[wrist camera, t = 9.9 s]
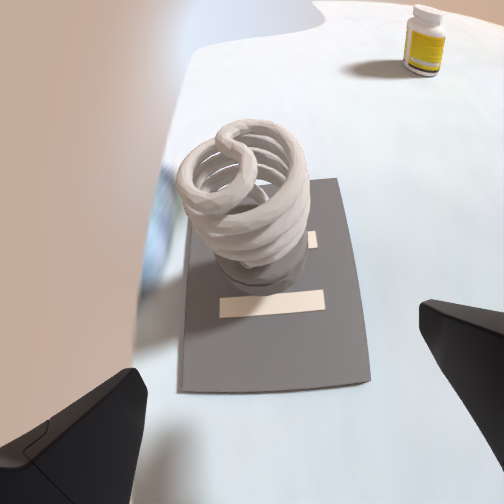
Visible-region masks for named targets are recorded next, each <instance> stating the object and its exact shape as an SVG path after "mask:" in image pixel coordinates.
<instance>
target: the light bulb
mask: <svg viewBox="0 0 504 504" xmlns="http://www.w3.org/2000/svg"><path fill="white" fill-rule="evenodd" d="M249 147H254V148H249ZM257 148H259V149H257ZM217 152H221V153H220V154H218V155H215V156H213V157H211V158H209V159H208V160H206V161H205V162H203V161H204V160H205V159H207V158H208V157H210V156H211V155H213V154H215V153H217ZM202 162H203V163H202ZM201 163H202V164H201ZM237 163H239V165H236V166H232V167H229V168H226V169H223V170H221V171H219V172H217V173H215V172H216V171H218V170H219V169H221V168H224V167H226V166H229V165H232V164H237ZM257 163H258V164H257ZM259 164H264V165H259ZM265 165H266V166H265ZM306 166H307V164H306V160H305V156H304V152H303V150H302V148H301V146H300V144H299V142H298V141H297V140H296V138H295V137H294V136H293V135H292V134H291V133H290V132H289V131H287V130H286V129H285V128H284V127H282V126H281V125H278V124H276V123H273V122H270V121H264V120H255V119H245V120H237V121H235V122H233V123H230V124H228V125H225V126H223V127H222V128H221V129H220V130H219V131H218V133H217V135H216V137H215V138H212V139H210V140H208V141H206V142H204V143H202V144H200V145H199V146H198V147H196V148H195V149H194V150H192V151H191V152H190V153H189V154H188V155H187V157H186V158H185V159H184V160H183V161H182V163H181V165H180V167H179V170H178V172H177V178H176V186H177V190H178V193H179V195H180V197H181V199H182V202H183V206H184V210H185V212H186V215H187V216H188V217H189V218H190V221H191V224H192V227H193V228H194V230H195V232H196V233H197V235H199V236H200V237H201V238H202V239H203V241H204V242H205V244H206V245H207V246H208V247H209V248H210V249H211V250H212V251H213V252H214V256H215V258H216V262H217V263H218V265H219V267H220V268H221V270H222V272H223V273H224V274H225V275H226V277H227V278H228V279H229V280H230V281H231V282H232V283H233V284H234V285H235V286H236V287H237V288H238V289H240V290H241V291H243V292H245V293H248V294H251V295H254V296H270V295H274V294H278V293H282V292H283V291H285V290H286V289H287V288H289V287H290V286H292V285H293V284H295V283H296V281H297V280H298V278H299V277H300V275H301V274H302V272H303V270H304V267H305V263H306V259H307V253H308V247H309V246H308V232H307V230H306V224H307V218H308V215H309V211H310V180H309V175H308V171H307V169H306ZM213 173H215V174H214V175H212V174H213ZM211 175H212V176H211ZM209 176H210V177H209ZM208 177H209V178H208ZM207 178H208V179H207ZM206 179H207V180H206ZM256 179H260V180H265V181H267V182H270V183H272V184H274V185H276V186H278V187H279V188H280V189H279V190H278V191H277V192H276V193H275V194H274V195H273V196H272V198H270V199H269V198H268V196H267V195H266V193H265V192H264V191H263V189H262V188H260V187H259V186H257V185H256V184H254V183H255V181H256ZM229 183H230V184H229ZM227 184H229V185H228V186H227V187H225V188H223V189H221V190H219V191H218V192H216V191H217V190H218V189H220V188H221V187H222V186H224V185H227ZM246 196H248V197H251V198H253V199H252V200H249V201H245V202H242V203H240V202H241V201H242V200H243V199H244V198H245V197H246ZM238 203H240V204H239V205H237V204H238ZM236 205H237V206H236ZM233 207H234V208H233ZM230 208H232V209H231V210H230V211H228V212H227V213H226V214H224V215H223V214H217V213H221V212H224V211H226V210H228V209H230Z"/></svg>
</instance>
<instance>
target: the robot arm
mask: <svg viewBox="0 0 504 504" xmlns="http://www.w3.org/2000/svg"><path fill="white" fill-rule="evenodd" d="M419 329H420V332H421V334H422V336H423V338H424V340H425V342H426V343H427V345H428V347H429V349H430V351H431V353H432V355H433V356H434V358H435V360H436V362H437V364H438V366H439V367H440V369H441V371H442V372H443V374H444V375H445V376H446V378H447V379H448V381H449V382H450V384H451V385H452V387H453V388H454V390H455V391H456V393H457V394H458V396H459V397H460V399H461V400H462V402H463V404H464V405H465V407H466V408H467V410H468V411H469V413H470V415H471V416H472V418H473V419H474V421H475V423H476V424H477V426H478V427H479V429H480V431H481V432H482V434H483V436H484V437H485V439H486V441H487V442H488V444H489V446H490V448H491V449H492V451H493V453H494V455H495V456H496V458H497V460H498V462H499V463H500V465H501V467H502V469H503V471H504V313H503V312H498V311H492V310H487V309H481V308H476V307H471V306H465V305H460V304H455V303H449V302H444V301H439V300H433V299H430V300H427V301H424V302H422V303H421V304H420V306H419ZM147 397H148V391H147V387H146V385H145V383H144V381H143V379H142V377H141V376H140V374H139V372H138V370H137V369H136V368H126V369H123V370H121V371H120V372H119V373H117V374H116V375H114V376H113V377H111V378H110V379H108V380H107V381H105V382H104V383H102V384H101V385H99V386H98V387H96V388H95V389H93V390H92V391H90V392H89V393H87V394H86V395H85V396H83V397H81V398H80V399H78V400H77V401H76V402H74V403H72V404H71V405H69V406H68V407H66V408H65V409H63V410H62V411H60V412H59V413H57V414H56V415H54V416H53V417H51V418H50V420H47V421H45V422H44V423H42V424H40V425H39V426H37V427H36V428H34V429H32V430H31V431H29V432H27V433H26V434H24V435H22V436H21V437H19V438H17V439H15V440H13V441H12V442H10V443H8V444H6V445H4V446H2V447H0V504H129V502H130V496H131V491H132V486H133V480H134V475H135V470H136V465H137V460H138V456H139V451H140V446H141V442H142V437H143V432H144V424H145V414H146V405H147Z"/></svg>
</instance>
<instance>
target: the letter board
mask: <svg viewBox="0 0 504 504" xmlns="http://www.w3.org/2000/svg"><path fill="white" fill-rule="evenodd" d="M259 187H260V188H262V189H263V191H264V192H265V193H266V195H267V196H268V198H269V199H270V198H272V196H273V195H274V194H275V193H276V192H277V191H278V190H279V189H280V188H279V187H278V186H276V185H274V184H268V185H260V186H259ZM216 192H218V191H216ZM252 199H253V198H251V197H248V196H246V197H245V198H244V199H243V200H242V201H241V202H240V203H242V202H245V201H249V200H252ZM240 203H238V204H237V205H239V204H240ZM237 205H236V206H237ZM233 208H234V207H233ZM231 209H232V208H230V209H228V210H226V211H224V212H221V213H217V214H223V215H224V214H226V213H227V212H228V211H230V210H231ZM306 230H307V232H308V246H309V247H308V253H307V259H306V263H305V267H304V270H303V272H302V274H301V275H300V277H299V278H298V280H297V281H296V283H295V284H293V285H292V286H290V287H289V288H287V289H286V290H285V291H283V292H282V293H278V294H274V295H270V296H254V295H251V294H248V293H245V292H243V291H241V290H240V289H238V288H237V287H236V286H235V285H234V284H233V283H232V282H231V281H230V280H229V279H228V278H227V277H226V275H225V274H224V273H223V272H222V270H221V268H220V267H219V265H218V263H217V262H216V258H215V256H214V252H213V251H212V250H211V249H210V248H209V247H208V246H207V245H206V244H205V242H204V241H203V239H202V238H201V237H200V236H199V235H197V233H196V232H195V230H194V228H193V227H192V232H191V243H190V255H189V267H188V281H187V296H186V312H185V331H184V356H183V391H187V392H260V391H281V390H297V389H309V388H320V387H330V386H338V385H347V384H354V383H361V382H368V381H371V374H370V364H369V354H368V346H367V337H366V330H365V322H364V315H363V308H362V301H361V295H360V289H359V283H358V277H357V271H356V265H355V260H354V254H353V249H352V244H351V239H350V234H349V229H348V225H347V220H346V215H345V211H344V206H343V202H342V198H341V193H340V189H339V185H338V181H337V178H329V179H318V180H310V211H309V215H308V218H307V224H306Z"/></svg>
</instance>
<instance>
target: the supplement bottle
mask: <svg viewBox="0 0 504 504" xmlns="http://www.w3.org/2000/svg"><path fill="white" fill-rule="evenodd" d="M413 15H414V16H415V17H413V18H410V19H409V20H408V22H407V31H406V41H405V50H404V59H403V63H404V65H405V66H406V67H407V68H408V69H409V70H411V71H413V72H415V73H417V74H420V75H424V76H435V75H437V74H438V73H439V69H440V64H441V59H442V53H443V47H444V41H445V30H444V28H443V27H442V26H441V25H440V23H442V20H443V13H442V12H441V11H439V10H437V9H435V8H432V7H429V6H424V5H418V4H416V5H414V9H413Z"/></svg>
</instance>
